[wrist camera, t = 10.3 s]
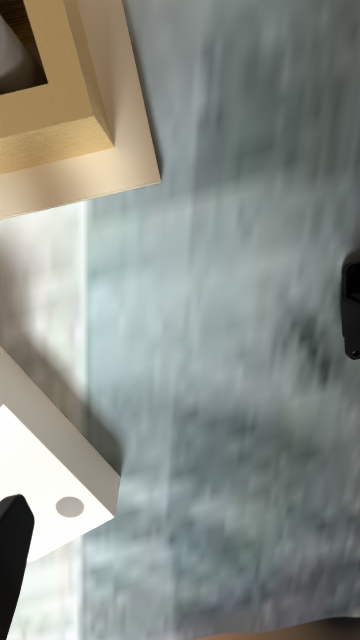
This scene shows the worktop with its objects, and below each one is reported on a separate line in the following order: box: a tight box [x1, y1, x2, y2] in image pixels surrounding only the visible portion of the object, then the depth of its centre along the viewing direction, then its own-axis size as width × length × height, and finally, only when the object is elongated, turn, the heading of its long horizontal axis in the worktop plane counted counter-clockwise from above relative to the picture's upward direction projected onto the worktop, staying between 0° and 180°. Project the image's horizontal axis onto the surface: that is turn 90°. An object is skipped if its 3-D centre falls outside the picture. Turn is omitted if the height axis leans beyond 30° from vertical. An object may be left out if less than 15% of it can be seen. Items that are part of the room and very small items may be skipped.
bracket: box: [0, 346, 121, 563], centre depth 18 cm, size 13×7×8 cm, turn 32°
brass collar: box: [0, 0, 115, 175], centre depth 12 cm, size 6×6×5 cm
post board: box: [0, 0, 161, 220], centre depth 12 cm, size 10×10×6 cm
